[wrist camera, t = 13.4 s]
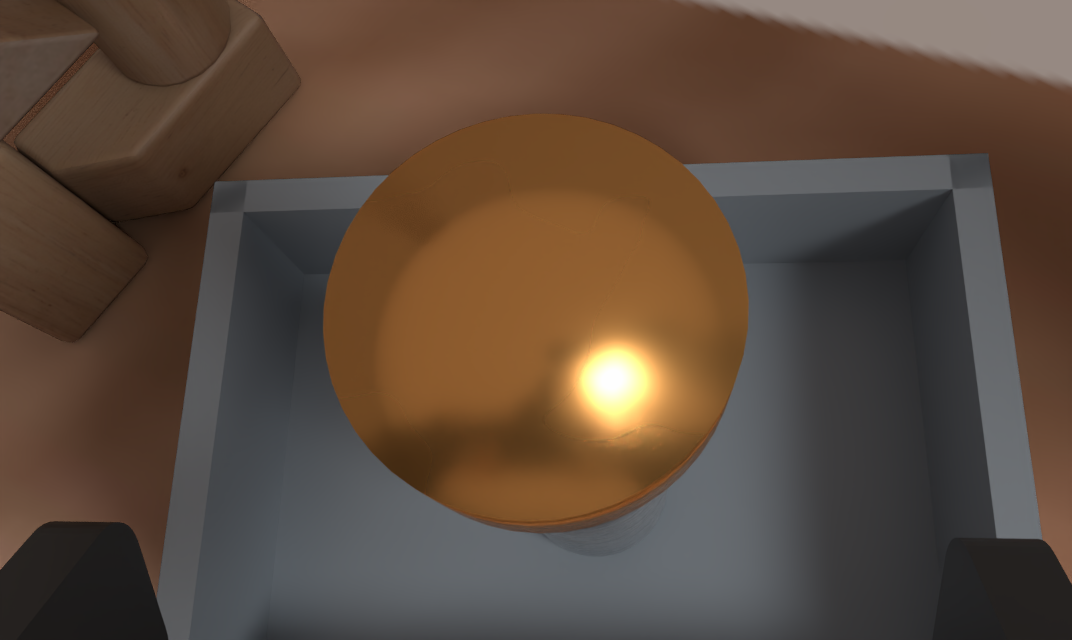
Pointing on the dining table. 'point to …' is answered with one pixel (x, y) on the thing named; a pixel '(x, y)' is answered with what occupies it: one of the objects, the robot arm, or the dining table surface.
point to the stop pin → (539, 326)
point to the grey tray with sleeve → (692, 501)
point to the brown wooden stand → (117, 136)
